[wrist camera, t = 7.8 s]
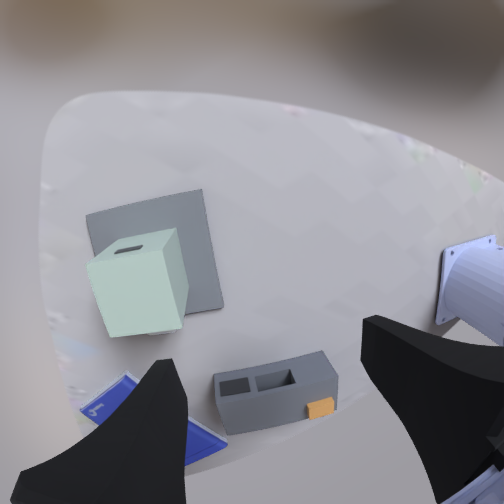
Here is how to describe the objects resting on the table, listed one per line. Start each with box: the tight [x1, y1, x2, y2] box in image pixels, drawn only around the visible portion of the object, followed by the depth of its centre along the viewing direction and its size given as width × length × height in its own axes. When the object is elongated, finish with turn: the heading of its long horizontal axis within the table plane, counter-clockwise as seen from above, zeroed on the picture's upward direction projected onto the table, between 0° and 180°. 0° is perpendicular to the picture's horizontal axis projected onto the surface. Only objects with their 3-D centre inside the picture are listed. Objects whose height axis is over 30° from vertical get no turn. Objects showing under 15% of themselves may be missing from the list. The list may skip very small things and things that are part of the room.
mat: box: [86, 189, 224, 314], centre depth 18 cm, size 8×8×1 cm
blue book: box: [80, 370, 228, 466], centre depth 22 cm, size 2×8×12 cm
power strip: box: [214, 351, 338, 435], centre depth 20 cm, size 9×4×4 cm, turn 99°
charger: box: [85, 228, 189, 338], centre depth 15 cm, size 4×6×6 cm
